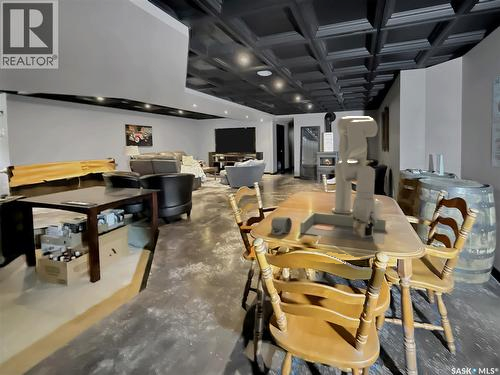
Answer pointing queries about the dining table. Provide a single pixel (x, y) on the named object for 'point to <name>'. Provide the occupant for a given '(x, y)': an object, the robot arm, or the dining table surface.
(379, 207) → the candle holder
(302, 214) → the dining table surface
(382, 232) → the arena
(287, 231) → the ceramic mug
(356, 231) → the birch cube
